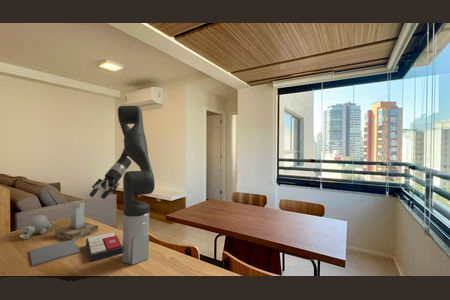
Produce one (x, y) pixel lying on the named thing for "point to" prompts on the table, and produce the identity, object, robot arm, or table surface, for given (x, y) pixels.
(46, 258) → the mat
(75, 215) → the t key
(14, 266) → the table surface
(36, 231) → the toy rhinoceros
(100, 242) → the calculator
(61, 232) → the block
